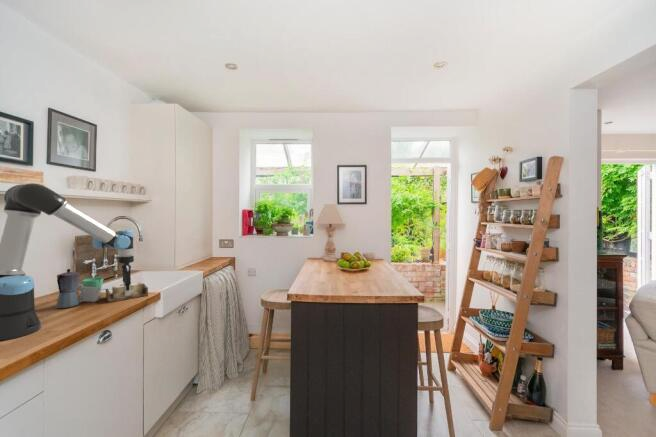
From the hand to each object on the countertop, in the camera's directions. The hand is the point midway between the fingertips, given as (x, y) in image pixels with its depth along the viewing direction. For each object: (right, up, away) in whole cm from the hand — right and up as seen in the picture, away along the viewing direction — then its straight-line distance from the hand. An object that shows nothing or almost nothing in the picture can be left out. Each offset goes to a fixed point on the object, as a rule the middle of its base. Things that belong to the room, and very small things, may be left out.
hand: (127, 294), depth 168 cm
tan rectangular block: (0, -1, 0) cm, 1 cm away
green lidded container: (-24, -2, +5) cm, 24 cm away
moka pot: (-20, -2, -17) cm, 26 cm away
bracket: (-17, -2, -8) cm, 19 cm away
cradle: (0, -1, 0) cm, 1 cm away
